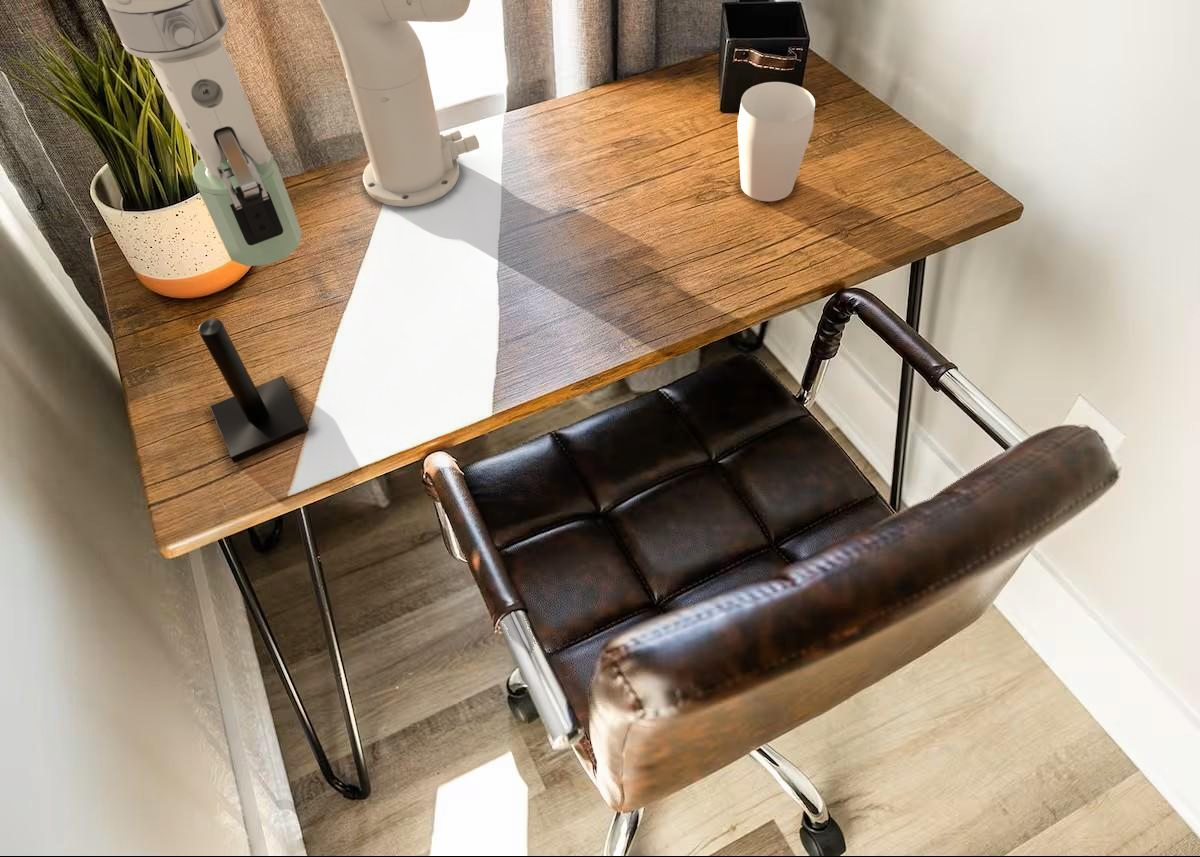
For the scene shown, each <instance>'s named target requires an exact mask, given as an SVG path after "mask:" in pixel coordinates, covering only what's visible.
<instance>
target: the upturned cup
mask: <svg viewBox="0 0 1200 857" xmlns="http://www.w3.org/2000/svg"><path fill="white" fill-rule="evenodd" d="M268 151H269V153H270V156H271V157H270V160H269V162H268V163H267V164H265V163H263V164H260V165H259V164H257V163H256V162H255V161H254V160H253V159H252V160H253V162H254V164H255V167H256V169H257V172H258V174H259V176H260V178H261V181H262V183H263V185H264V187H265V190H266V192H267V191H268V193H269V194H270V197H271V200H272V202H273V205H274V207H275V210H276V212H277V215H278V218H279V220H280V223H281V225H282V228H283V233H282V234H281V235H279V236H276V237H273V238H271V239H268V240H265V241H262V242H260V243H257V244H254V245H248V244H247V243H246V241H245V239H244V236H243V234H242V232H241V230H240V227H239V225H238V223H237V220H236V218H235V216H234V214H233V211H232V209H231V207H230V205H231V204H233V203H232V200H231V198H230V196H229V194H228V192H227V190H226V187H225V185H224V183H223V181H222V179H218V178H215V177H213V176H212V175H211V174H210V172H209V171H208V169H207V167H206V166H205V164H204V163H203V161H202V160H201V158H200V159H199V160H198V161H197V162H196V164H195V165H194V167H193V170H192V178H193V182H194V184H195V186H196V188H197V191H198V192H199V195H200V198H201V199H202V201H203V204H204V205H205V208H206V210H207V212H208V214H209V217H210V219H211V220H212V223H213V225H214V228H215V230H216V232H217V234H218V236H219V238H220V240H221V243H222V245H223V246H224V249H225V251H226V253H227V255H228V257H229V258H230V260H231V261H232V262H235V263H238V264H240V265H243V266H245V267H254V266H255V267H256V266H259V267H260V266H269V265H271V264H274V263H276V262H279V261H281V260H283V259H286V258H287V257H289V256H290V255H291V254H292V253H293V252H294V251H295V250H297V249H298V247H299V246H300V243H301V240H302V236H303V231H302V229H301V225H300V224H299V220H298V218H297V215H296V213H295V209H294V207H293V204H292V202H291V199H290V196H289V193H288V190H287V188H286V186H285V183H284V180H283V177H282V174H281V171H280V169H279V166H278V164H277V162H276V160H275V159H274V155H273V154H272V152H271V151H270V150H269V149H268ZM243 156H244V154H243ZM244 158H245V157H244ZM245 160H246V159H245ZM246 162H247V161H246ZM221 166H222V168H223V169H226V168H229V167H230V166H229V164H228V162H227V161H224V162H221ZM229 179H230V181H231V183H232V185H233V187H234V189H235V192H236V187H239V186H238V184H237V181H236V179H235V176H232V177H229Z"/></svg>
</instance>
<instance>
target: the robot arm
mask: <svg viewBox="0 0 1200 857" xmlns="http://www.w3.org/2000/svg"><path fill="white" fill-rule="evenodd" d="M101 1H102V3H103V5H104V7H105V9H106V12H107V13H108V15H109V18H110V20H111V23H112V24H113V26H114V29H115V31H116V33H117V35H118V37H119V40H120V41H121V44H122V46H123V48H124V50H125V51H126V52H127V53H128V54H129V55H131V56H134V57H135V58H139V59H144V60H148V61H149V64H150V65H151V68H152V70H153V72H154V74H155V76H156V79H157V80H158V83H159V85H160V87H161V90H162V91H163V93H164V95H165V98H166V99H167V101H168V104H169V106H170V108H171V110H172V111H173V113H174V115H175V117H176V119H177V121H178V123H179V125H180V126H181V129H182V130H183V132H184V133H185V136H186V137H187V138H188V140H189V142H190V143H191V145H192V147H193V149H194V150H195V152H196V154H197V155H198V157H199V158H200V159H201V160H202V161H203V163H204V164H205V166H206V167H207V169H208V171H209V172H210V174H211V175H212V176H213V177H215V178H218V179H222V181H223V183H224V185H225V187H226V190H227V192H228V194H229V196H230V198H231V200H232V203H233V204H231V205H230V207H231V209H232V211H233V214H234V216H235V218H236V220H237V223H238V225H239V227H240V230H241V232H242V234H243V236H244V239H245V241H246V243H247V244H248V245H254V244H257V243H260V242H262V241H265V240H268V239H271V238H273V237H276V236H279V235H281V234H282V233H283V228H282V225H281V223H280V220H279V218H278V215H277V212H276V210H275V207H274V205H273V202H272V200H271V197H270V194H269V193H268V191H267V192H266V190H265V187H264V185H263V183H262V181H261V178H260V176H259V174H258V172H257V169H256V167H255V164H254V162H253V160H254V161H255V162H256V163H257V164H259V165H260V164H263V163H265V164H267V163H268V162H269V160H270V157H271V156H270V153H269V151H270V150H269V148H268V147H267V144H266V141H265V139H264V137H263V135H262V131H261V130H260V127H259V124H258V122H257V120H256V117H255V115H254V112H253V110H252V107H251V105H250V103H249V100H248V98H247V95H246V92H245V91H244V88H243V86H242V83H241V81H240V78H239V76H238V74H237V71H236V69H235V66H234V65H233V62H232V60H231V58H230V56H229V54H228V52H227V49H226V47H225V45H224V42H223V41H222V39H223V38H224V36H225V35H226V34H227V32H228V30H229V26H230V25H229V20H228V18H227V15H226V13H225V10H224V8H223V4H222V1H221V0H101ZM317 2H318V4H319V6H320V8H321V10H322V12H323V14H324V16H325V18H326V20H327V22H328V25H329V27H330V30H331V33H332V34H333V38H334V40H335V43H336V46H337V48H338V52H339V55H340V58H341V62H342V66H343V69H344V72H345V77H346V80H347V83H348V87H349V91H350V94H351V99H352V102H353V105H354V109H355V112H356V116H357V119H358V123H359V127H360V130H361V135H362V137H363V140H364V145H365V148H366V152H367V155H368V159H369V162H368V164H367V165H366V166H365V168H364V170H363V174H362V182H363V184H364V188H365V190H366V192H367V194H368V195H369V197H371V198H372V199H373V200H375V201H377V202H379V203H381V204H383V205H384V204H385V205H387V206H393V207H403V208H406V207H414V206H421V205H425V204H428V203H432V202H433V201H436V200H438V199H440V198H442V197H443V196H445V195H446V194H448V193H449V192H450V191H451V190H452V189H453V188H454V187H455V185H456V184H457V183H458V180H459V178H460V166H459V162H458V160H457V159H459V155H464V154H467V153H470V152H473V151H475V150H478V149H480V143H479V140H478V138H477V136H476V135H475V134H474V133H472V134H471V135H467V136H464V137H463V136H462V133H461V131H460V130H459V129H457V130H454V131H451V132H449V133H448V134H445V135H443V134H441V132H440V127H439V121H438V118H437V112H436V107H435V103H434V98H433V91H432V87H431V82H430V78H429V73H428V68H427V61H426V56H425V51H424V49H423V46H422V44H421V41H420V39H419V37H418V35H417V33H416V31H415V30H414V29H413V27H412V26H411V24H410V23H409V22H419V23H420V22H422V23H446V22H447V23H448V22H454V21H457V20H459V19H461V18H462V17H464V16H465V14H466V13H467V11H468V10H469V7H470V4H471V0H317ZM268 150H269V151H268ZM243 154H244V156H243ZM244 157H245V158H244ZM245 159H246V160H245ZM252 159H253V160H252ZM224 161H227V162H228V164H229V166H230V167H229V168H226V169H223V168H222V166H221V162H224ZM246 161H247V162H246ZM232 176H235V179H236V181H237V184H238V186H239V187H236V192H235V189H234V187H233V185H232V183H231V181H230V179H229V177H232Z"/></svg>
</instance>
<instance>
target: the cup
mask: <svg viewBox="0 0 1200 857" xmlns="http://www.w3.org/2000/svg"><path fill="white" fill-rule="evenodd" d="M815 110H816V100H815V97H814V96H813V95H812V93H811V92H809V91H808V90H807V89H805V88H804V87H802V86H799V85H797V84H793V83H790V82H785V81H767V82H763V83H759V84H756V85H753V86H751V87H750V88H748V89H746V90H745V91H744V92H743V94H742V96H741V99H740V104H739V112H738V116H737V127H736V128H737V142H738V143H737V144H738V159H739V174H740V175H739V176H740V177H739V178H740V187H741V188H740V189H741V190H742V191H743V192H744V194H745V195H746V196H748V197H749V198H751V199H754V200H756V201H761V202H776V201H780V200H783V199H785V198H787V197H788V196H789V195H790V194H791V193H792V192H793V189H794V186H795V184H796V181H797V177H798V175H799V171H800V168H801V166H802V163H803V159H804V157H805V154H806V150H807V148H808V145H809V142H810V138H811V136H812V132H813V129H814V119H815Z"/></svg>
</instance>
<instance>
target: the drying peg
mask: <svg viewBox="0 0 1200 857" xmlns="http://www.w3.org/2000/svg"><path fill="white" fill-rule="evenodd" d="M197 331H198V333H199V335H200V337H201V339H202V341H203V343H204V344H205V346H206V348H207V350H208V351H209V353H210V355H211V357H212V358H213V361H214V363H215V364H216V366H217V368H218V370H219V371H220V373H221V376H222V377H223V379H224V380H225V382H226V384H227V386H228V387H229V389H230V391H231V393H232V395H233V396H231V397H228V398H226V399H223V400H221V401H219V402H216V403H214V404H211V405H210V406H209V408H210V411H211V414H212V416H213V419H214V420H215V423H216V426H217V428H218V431H219V434H220V436H221V438H222V440H223V443H224V446H225V448H226V450H227V452H228V455H229V457H230V459H231V461H232V462H233V464H236V463H239V462H240V461H243V460H246V459H247V458H250V457H253V456H254V455H256V454H259V453H261V452H264V451H266V450H268V449H270V448H273V447H275V446H277V445H280V444H282V443H284V442H286V441H288V440H291V439H293V438H296V437H297V436H300V435H302V434H304V433H307V432H309V431H310V428H309V426H308V424H307V422H306V420H305V418H304V416H303V414H302V412H301V410H300V408H299V405H298V403H297V402H296V400H295V398H294V396H293V393H292V391H291V389H290V388H289V385H288V383H287V381H286V379H285V377H284V376H283V375H281V376H279V377H276V378H274V379H271V380H269V381H267V382H266V381H265V382H264V383H262V384H260V385H257V386H255V383H254V381H253V379H252V378H251V375H250V374H249V372H248V370H247V368H246V366H245V364H244V363H243V360H242V359H241V356H240V354H239V352H238V351H237V349H236V346H235V345H234V343H233V341H232V339H231V337H230V335H229V333H228V331H227V329H226V328H225V325H224V324H223V322H222V320H220V319H218V318H208V319H206V320H204V321H203V322H201V323H200V324H199V325H198V329H197Z"/></svg>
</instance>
